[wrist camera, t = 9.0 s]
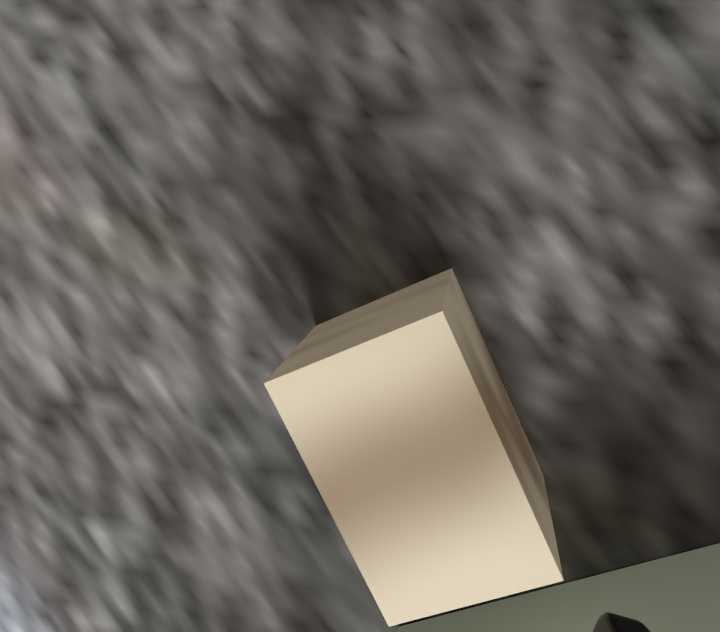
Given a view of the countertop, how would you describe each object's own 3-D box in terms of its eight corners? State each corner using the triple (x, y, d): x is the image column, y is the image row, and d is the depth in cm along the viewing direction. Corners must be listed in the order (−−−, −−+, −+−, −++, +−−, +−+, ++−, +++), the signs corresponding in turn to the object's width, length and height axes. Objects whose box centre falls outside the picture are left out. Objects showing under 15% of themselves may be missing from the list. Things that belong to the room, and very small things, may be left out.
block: (543, 473, 19) (563, 580, 14) (409, 514, 20) (388, 626, 16) (451, 267, 18) (442, 310, 13) (316, 324, 19) (263, 383, 15)
